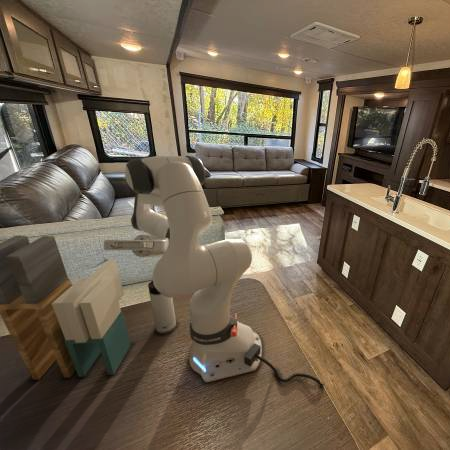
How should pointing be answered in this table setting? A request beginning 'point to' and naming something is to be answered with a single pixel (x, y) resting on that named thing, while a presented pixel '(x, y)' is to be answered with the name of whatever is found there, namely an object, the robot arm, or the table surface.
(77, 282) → the cream teal blocky piece
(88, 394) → the table surface
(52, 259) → the book stand
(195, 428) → the table surface
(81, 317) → the white book
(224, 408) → the table surface
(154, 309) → the travel mug
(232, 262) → the robot arm
